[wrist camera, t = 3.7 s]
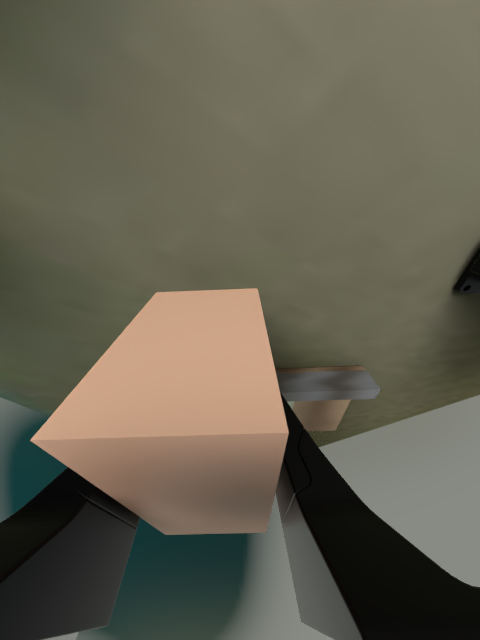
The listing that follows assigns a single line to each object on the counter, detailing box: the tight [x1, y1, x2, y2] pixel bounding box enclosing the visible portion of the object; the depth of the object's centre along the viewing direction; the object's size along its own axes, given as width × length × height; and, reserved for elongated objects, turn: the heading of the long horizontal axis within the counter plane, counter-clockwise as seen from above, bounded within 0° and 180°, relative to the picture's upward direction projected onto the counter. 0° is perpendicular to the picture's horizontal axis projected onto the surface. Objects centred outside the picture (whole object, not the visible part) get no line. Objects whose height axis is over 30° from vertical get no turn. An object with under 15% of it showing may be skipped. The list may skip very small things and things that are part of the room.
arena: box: [275, 366, 381, 431], centre depth 23 cm, size 20×13×3 cm, turn 92°
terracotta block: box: [31, 288, 289, 535], centre depth 8 cm, size 4×9×6 cm, turn 2°
